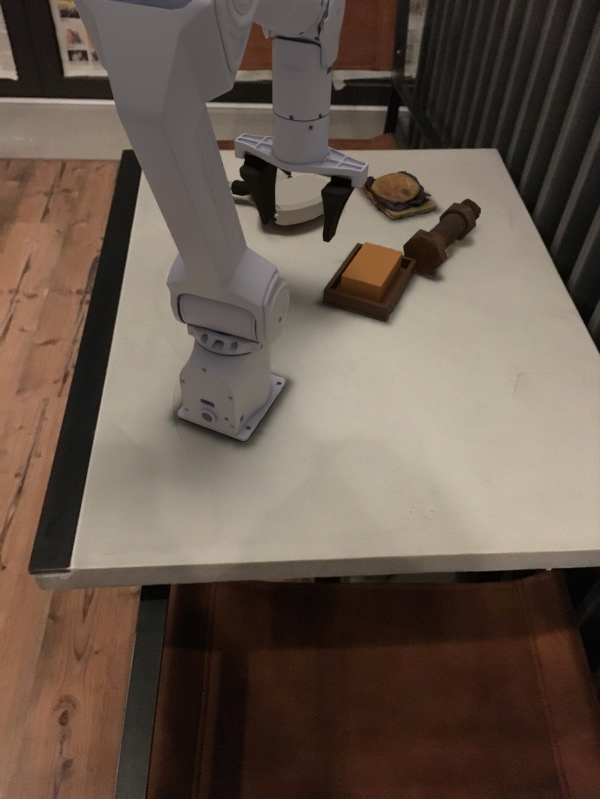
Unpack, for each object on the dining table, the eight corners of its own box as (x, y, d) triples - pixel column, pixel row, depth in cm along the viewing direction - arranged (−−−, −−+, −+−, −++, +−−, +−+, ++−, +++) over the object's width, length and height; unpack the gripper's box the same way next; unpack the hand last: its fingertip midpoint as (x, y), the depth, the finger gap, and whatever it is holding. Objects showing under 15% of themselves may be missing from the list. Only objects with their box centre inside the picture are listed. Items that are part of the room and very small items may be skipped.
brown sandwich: (440, 211, 99) (444, 188, 96) (388, 222, 96) (392, 198, 94) (404, 176, 105) (407, 153, 103) (355, 186, 103) (357, 163, 100)
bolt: (470, 234, 97) (421, 282, 88) (446, 208, 97) (394, 254, 88) (498, 208, 92) (450, 256, 83) (472, 181, 92) (421, 226, 83)
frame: (385, 321, 81) (387, 308, 80) (322, 302, 83) (323, 289, 82) (415, 271, 88) (417, 258, 87) (356, 255, 90) (357, 242, 89)
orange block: (378, 306, 82) (380, 286, 80) (339, 295, 84) (341, 275, 81) (399, 271, 87) (403, 251, 85) (363, 261, 89) (365, 241, 86)
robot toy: (218, 204, 100) (280, 244, 91) (215, 174, 97) (279, 212, 88) (285, 179, 105) (349, 214, 97) (284, 150, 102) (350, 184, 94)
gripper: (384, 108, 68) (370, 227, 78) (254, 80, 72) (257, 197, 82) (358, 136, 64) (347, 259, 73) (221, 105, 68) (228, 226, 77)
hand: (298, 229), depth 77 cm, fingers open, 7 cm apart
